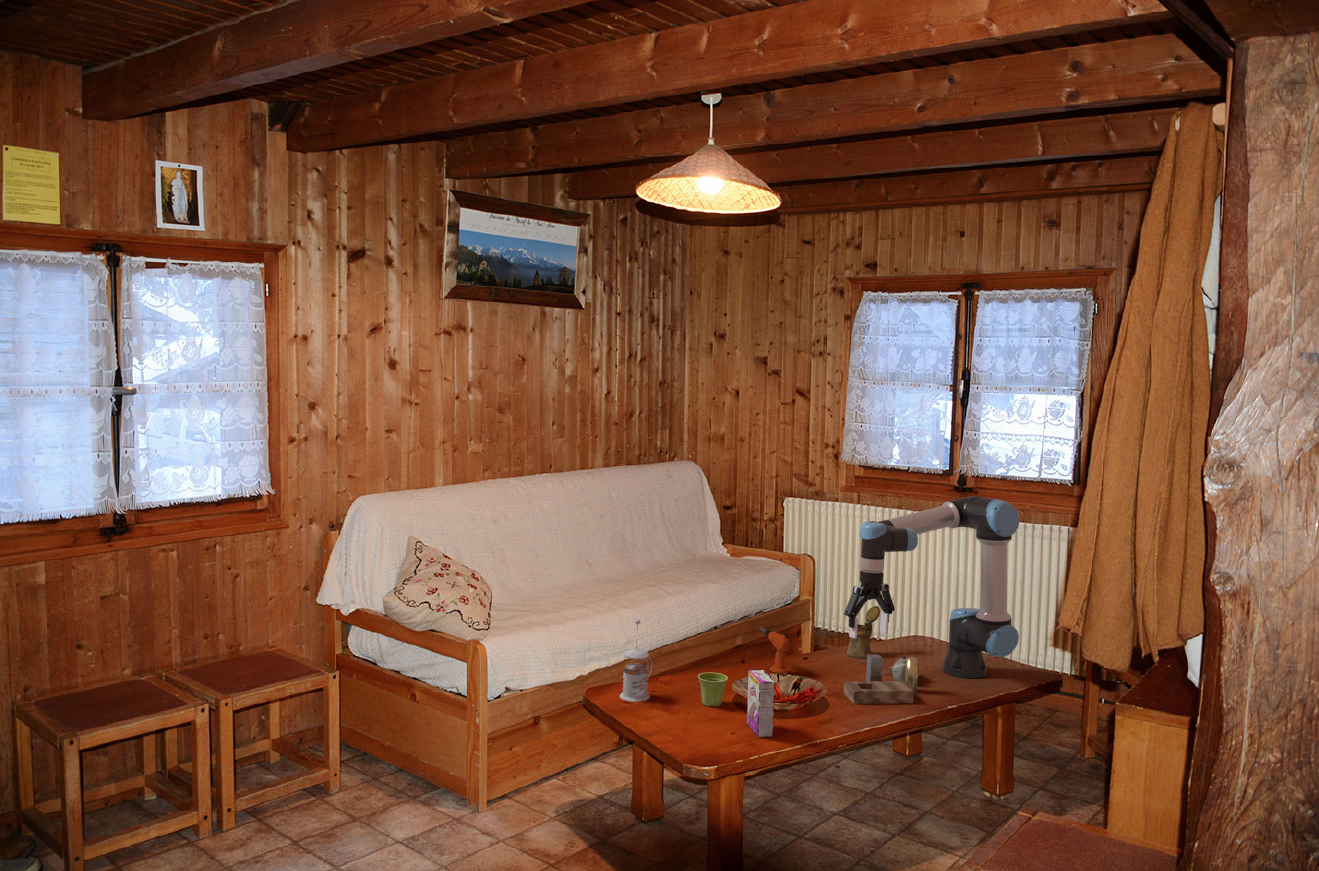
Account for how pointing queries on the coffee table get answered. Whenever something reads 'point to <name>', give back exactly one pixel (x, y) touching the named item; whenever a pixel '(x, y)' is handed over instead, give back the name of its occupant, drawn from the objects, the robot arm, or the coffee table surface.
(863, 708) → the coffee table surface
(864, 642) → the tan piece
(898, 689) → the socket block
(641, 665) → the french press
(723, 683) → the plant pot
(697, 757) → the coffee table surface
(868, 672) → the square bit
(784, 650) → the toy drill
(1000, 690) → the coffee table surface
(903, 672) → the ceramic sculpture
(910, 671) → the brass cylinder
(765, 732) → the candy bar box
